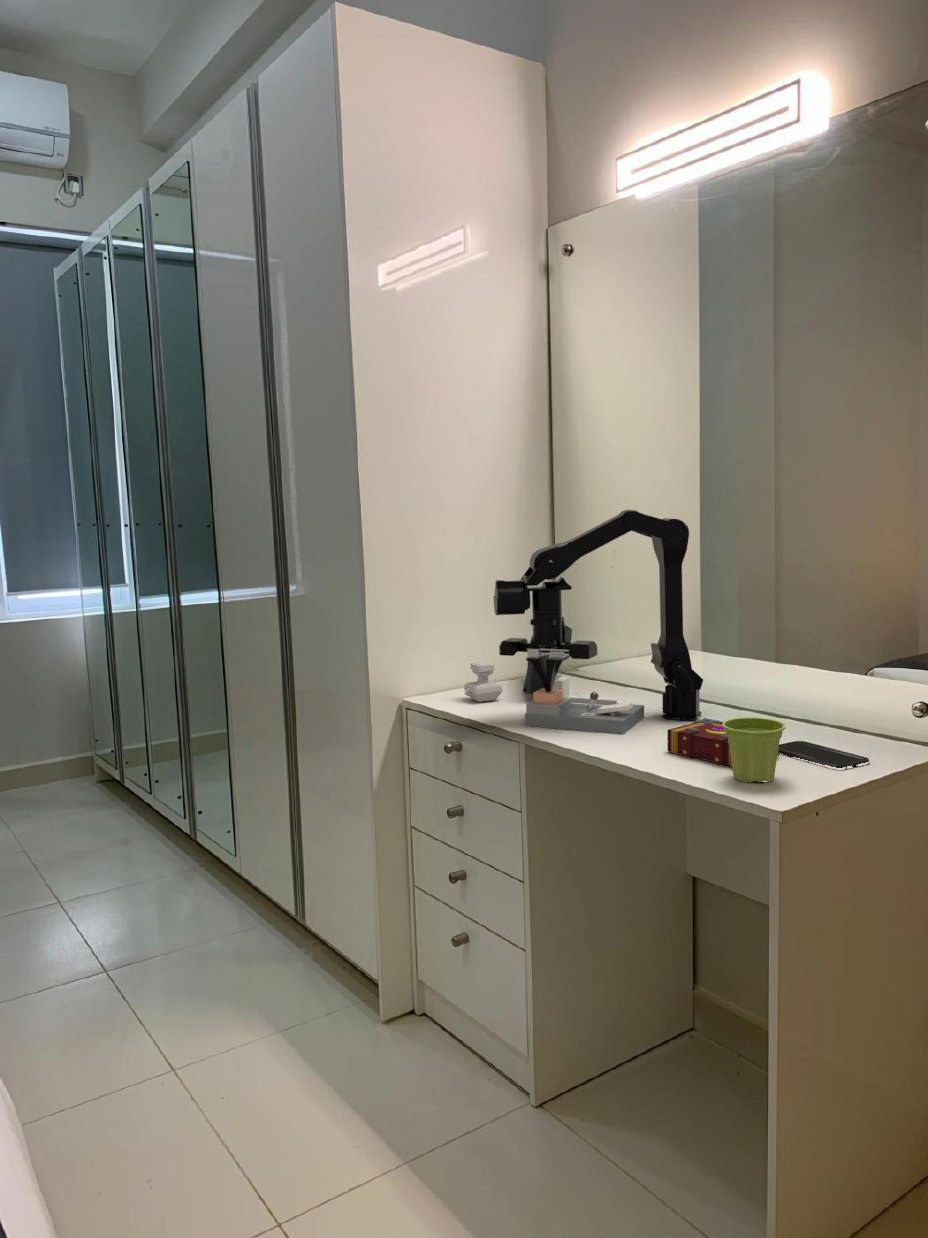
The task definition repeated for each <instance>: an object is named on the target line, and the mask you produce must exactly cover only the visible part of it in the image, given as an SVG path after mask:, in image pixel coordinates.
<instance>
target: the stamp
mask: <svg viewBox="0 0 928 1238" xmlns="http://www.w3.org/2000/svg"><path fill="white" fill-rule="evenodd" d="M469 665H470V669H471V670H472V674H474V675H477V680H476V681H472V682H471V681H470V682H466V683H465V684H464V688H463V689H464V695H465V696H466V697H470V699H472V700H474V701H476V702H479V703H485V702H484V701H487V702H493V701H496V700H498V698H499V697H500V695H501V694H502V692H504V690H503V687H502V685H501V684H500V683H497V682H494V681H492V680H490V679H489V677H490V676H491V675H493V674H494V671H495V664H493V663H492V662H491V663H489V662H487V661H481V662H480V661H479V662H472V663H470V664H469Z"/></svg>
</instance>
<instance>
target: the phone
mask: <svg viewBox="0 0 928 1238" xmlns="http://www.w3.org/2000/svg"><path fill="white" fill-rule="evenodd" d="M778 752H779V753H781V754H783V755H782V756H784V755H787V756H786V757H788V756H790V757H789V758H791V757H796V758H800V759H804V760H808V761H811V762H815V763H819V764H822V765H828V766H831V767H836V768H843V767H846V768H847V766H851V765H852V766H856V765H858V764H861V763H866V762H869V763H870V759H869V757H867V756H866V757H865V756H861V755H858V754H855V753H850V752H847V751H842V750H838V749H835V748H831V747H827V746H823V745H820V744H817V743H816V744H815V743H812V742H808V741H803V740H794V741H790V742H785V743H781V744H780V743H779V748H778ZM781 754H780V755H781Z"/></svg>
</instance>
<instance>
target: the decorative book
mask: <svg viewBox="0 0 928 1238" xmlns="http://www.w3.org/2000/svg"><path fill="white" fill-rule="evenodd" d="M723 722H724V721H721V720H715V719H713V718H707V717H706V718H701V719H698V720H693V721H692V723H687V724H684V725H681V726H677V727H672V728H670V729H667V737H666V738H667V739H666V740H667V752H670V753H675V754H679V755H680V757H682V758H686V759H692V757H693V758H696V759H701V760H705V761H709V762H712V763H711V764H713V765H718V766H721V765H724V766H730V767H732V762H731V755H730V748H729V742H728V737H727V736H726V732H725V728H723V726H722V723H723ZM777 756H778V757H779V756H780V754H779V752H778V755H777Z"/></svg>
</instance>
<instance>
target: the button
mask: <svg viewBox="0 0 928 1238" xmlns="http://www.w3.org/2000/svg"><path fill="white" fill-rule="evenodd" d="M532 693H533V695H532V698H533V699H532V700H533V702H534V703H539V704H553V705H557V704H558V703H560V702H562V701H564V696H563V690H560V689H552V690H551V691H550V692H546V691H545V689H544V688H542V689H540V690H538V691H536V692H532Z"/></svg>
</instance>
